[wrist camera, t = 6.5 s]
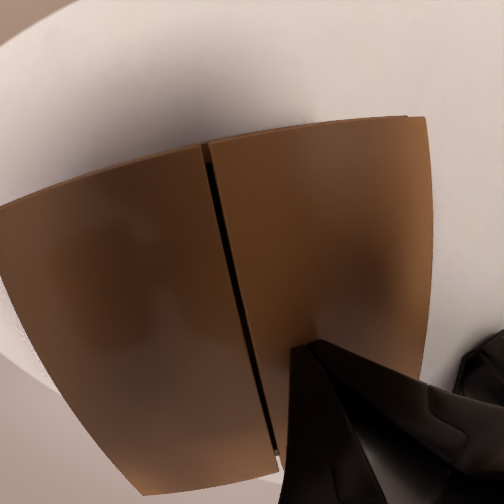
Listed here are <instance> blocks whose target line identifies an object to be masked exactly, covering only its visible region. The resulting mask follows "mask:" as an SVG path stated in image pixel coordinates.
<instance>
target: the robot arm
mask: <svg viewBox="0 0 504 504" xmlns="http://www.w3.org/2000/svg"><path fill="white" fill-rule="evenodd" d="M278 504H504V331H503V332H501V333H500V334H498V335H497V336H495V337H494V338H492V339H491V340H489V341H488V342H486V343H485V344H483V345H482V346H480V347H479V348H477V349H475V350H474V351H472V352H471V353H469V354H467V355H466V356H465V357H464V358H463V360H462V363H461V367H460V371H459V374H458V378H457V381H456V385H455V388H454V392H453V393H451V392H448V391H445V390H442V389H440V388H437V387H435V386H432V385H427V383H424V382H422V381H419V380H417V379H414V378H412V377H409V376H407V375H405V374H402V373H400V372H397V371H395V370H392V369H390V368H388V367H385V366H383V365H381V364H378V363H376V362H374V361H371V360H369V359H367V358H364V357H362V356H360V355H357V354H355V353H353V352H351V351H348V350H346V349H344V348H341V347H339V346H337V345H335V344H332V343H330V342H328V341H326V340H324V339H318V340H315V341H312V342H309V343H308V344H307V346H306V345H304V344H302V345H299V346H296V347H293V348H291V349H290V365H289V401H288V427H287V446H286V462H285V471H284V479H283V484H282V489H281V493H280V498H279V502H278Z"/></svg>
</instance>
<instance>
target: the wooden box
mask: <svg viewBox="0 0 504 504" xmlns="http://www.w3.org/2000/svg"><path fill="white" fill-rule="evenodd" d="M397 117H408V116H386V117H370V118H358V119H347V120H336V121H327V122H318V123H310V124H303V125H295V126H288V127H281V128H275V129H269V130H262V131H257V132H251V133H245V134H240V135H235V136H229V137H224V138H219V139H214V140H210V141H205V142H200V143H196V144H192V145H187V146H183V147H179V148H175V149H170V150H166V151H163V152H159V153H155V154H151V155H147V156H144V157H140V158H136V159H133V160H129V161H126V162H122V163H119V164H115V165H112V166H109V167H106V168H102V169H99V170H96V171H93V172H90V173H87V174H84V175H81V176H78V177H75V178H72V179H69V180H66V181H63V182H61V183H58V184H55V185H52V186H50V187H47V188H44V189H42V190H39V191H36V192H34V193H31V194H29V195H26V196H24V197H21V198H19V199H16V200H14V201H11V202H9V203H7V204H4V205H2V206H0V276H1V278H2V281H3V283H4V286H5V288H6V291H7V293H8V295H9V298H10V300H11V302H12V304H13V307H14V309H15V311H16V313H17V315H18V318H19V320H20V322H21V324H22V326H23V328H24V330H25V332H26V334H27V336H28V338H29V340H30V342H31V344H32V345H33V347H34V349H35V351H36V353H37V355H38V357H39V358H40V360H41V362H42V364H43V365H44V367H45V369H46V370H47V372H48V374H49V376H50V377H51V379H52V380H53V382H54V384H55V385H56V387H57V388H58V390H59V392H60V393H61V395H62V396H63V398H64V399H65V401H66V402H67V403H68V405H69V407H70V408H71V410H72V411H73V412H74V414H75V415H76V417H77V418H78V419H79V421H80V422H81V424H82V425H83V426H84V427H85V429H86V430H87V432H88V433H89V434H90V436H91V437H92V438H93V440H94V441H95V442H96V443H97V445H98V446H99V447H100V448H101V450H102V451H103V452H104V453H105V455H106V456H107V457H108V458H109V459H110V460H111V462H112V463H113V464H114V465H115V466H116V468H117V469H118V470H119V471H120V472H121V473H122V474H123V475H124V476H125V478H126V479H127V480H128V481H129V482H130V483H131V484H132V485H133V486H134V487H135V488H136V489H137V490H138V491H139V492H140V493H141V494H142V495H143V496H147V495H159V494H168V493H177V492H184V491H192V490H198V489H205V488H210V487H216V486H221V485H226V484H231V483H236V482H240V481H244V480H249V479H253V478H258V477H261V476H265V475H269V474H273V473H276V472H279V468H278V464H277V461H276V457H275V456H278V455H279V453H278V450H277V446H276V442H275V438H274V434H273V430H272V426H271V422H270V418H269V414H268V410H267V406H266V402H265V398H264V393H263V389H262V385H261V381H260V377H259V373H258V369H257V364H256V360H255V356H254V352H253V348H252V343H251V339H250V335H249V331H248V326H247V322H246V318H245V313H244V309H243V305H242V300H241V296H240V292H239V287H238V283H237V278H236V274H235V269H234V265H233V260H232V256H231V251H230V247H229V242H228V238H227V233H226V229H225V224H224V219H223V215H222V210H221V205H220V201H219V196H218V191H217V187H216V182H215V177H214V172H213V167H212V163H211V158H210V153H209V148H208V144H209V143H210V142H214V141H219V140H224V139H229V138H234V137H240V136H245V135H251V134H256V133H262V132H268V131H274V130H281V129H287V128H294V127H301V126H309V125H317V124H325V123H334V122H344V121H355V120H366V119H380V118H397Z"/></svg>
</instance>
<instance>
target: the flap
mask: <svg viewBox="0 0 504 504" xmlns="http://www.w3.org/2000/svg"><path fill="white" fill-rule="evenodd" d="M208 148H209V153H210V158H211V163H212V167H213V172H214V177H215V182H216V187H217V191H218V196H219V201H220V205H221V210H222V215H223V219H224V224H225V229H226V233H227V238H228V242H229V247H230V251H231V256H232V260H233V265H234V269H235V274H236V278H237V283H238V287H239V292H240V296H241V300H242V305H243V309H244V313H245V318H246V322H247V326H248V331H249V335H250V339H251V343H252V348H253V352H254V356H255V360H256V364H257V369H258V373H259V377H260V381H261V385H262V389H263V393H264V398H265V402H266V406H267V410H268V414H269V418H270V422H271V426H272V430H273V434H274V438H275V442H276V446H277V450H278V453H279V457H280V461H281V465H282V467H283V470H285V462H286V446H287V427H288V401H289V365H290V349H291V348H293V347H296V346H299V345H302V344H304V345H306V346H307V344H308V343H309V342H312V341H315V340H318V339H324V340H326V341H328V342H330V343H332V344H335V345H337V346H339V347H341V348H344V349H346V350H348V351H351V352H353V353H355V354H357V355H360V356H362V357H364V358H367V359H369V360H371V361H374V362H376V363H378V364H381V365H383V366H385V367H388V368H390V369H392V370H395V371H397V372H400V373H402V374H405V375H407V376H409V377H412V378H414V379H417V380H419V376H420V371H421V365H422V359H423V353H424V346H425V339H426V332H427V323H428V315H429V304H430V293H431V279H432V258H433V198H432V178H431V164H430V152H429V142H428V133H427V125H426V118H425V117H424V116H422V117H397V118H380V119H366V120H355V121H344V122H334V123H325V124H317V125H309V126H301V127H294V128H287V129H281V130H274V131H268V132H262V133H256V134H251V135H245V136H240V137H234V138H229V139H224V140H219V141H214V142H210V143H209V144H208Z"/></svg>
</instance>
